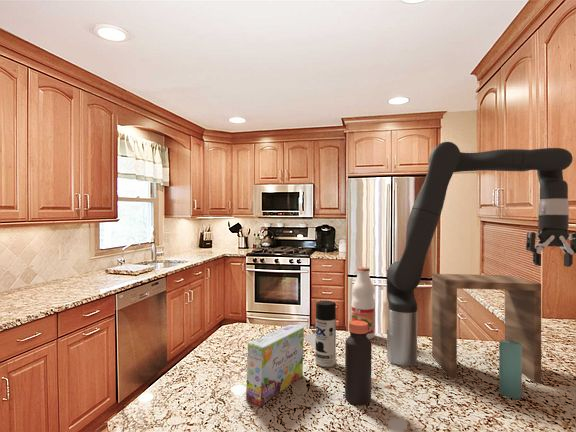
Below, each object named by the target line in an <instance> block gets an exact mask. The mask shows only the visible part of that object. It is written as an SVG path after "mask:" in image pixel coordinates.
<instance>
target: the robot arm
mask: <svg viewBox="0 0 576 432" xmlns="http://www.w3.org/2000/svg"><path fill="white" fill-rule="evenodd" d="M573 158H574V157H573V155H572V153H571V152H570V151H569V150H567V149H565V148H561V147H545V148H535V149H523V148H522V149H520V148H512V149H511V148H510V149H509V148H507V149H506V148H505V149H493V150H487V151H479V152H461V151H460V148H459V147H458V145H457V144H456V143H454V142H452V141H443V142H441V143H439V144H437V145H436V146H435V147H434V148H433V149H432V150H431V152H430V155H429V160H428V168H427V173H426V176H425V179H424V182H423V184H422V185H421V187H420V189H419V192H418V193H417V196H416V197H415V200H414V202H413V204H412V208H411V211H410V213H409V216H408V220H407V224H406V232H405V233H406V235H405V246H404V249H403V252H402V255H401V257H400V259H399V261H394V262H392V263H391V264H390V265H389V266H388V269H387V272H386V298H387V299H386V300H387V303H388V328H387V329H386V358H387V359H388V361H389V363H390V364H393V365H398V366H406V367H410V366H411V367H412V366H415V365H417V364H418V302H417V300H416V298H415V290H416V288H417V287H418V286H419V284H420V282H421V279H422V276H423V270H424V265H425V261H426V257H427V255H428V251H429V249H430V246H431V243H432V240H433V238H434V234H435V232H436V229H437V226H438V224H439V221H440V218H441V215H442V212H443V208H444V204H445V200H446V196H447V190H448V186H449V185H450V181H451V179H452V178H453V175H454V173H459V172H460V173H461V172H473V171H476V172H477V171H481V172H482V171H488V172H489V171H491V172H493V171H495V172H528V171H537V179H538V183H539V202H538V206H537V207H538V208H537V209H538V213H537V215H538V216H537V228H538V232H534V231H528V232H526V233H527V234H526V244H525V245H526V246H525V250H526V251H528V252H531V253H532V264H533V265H534V266H537V267H541V266H542V254H541V252H542V251H544V249H546V248H547V247H555V248H556V247H558V248H559V249H561V251H563V253H564V254H563V266H564V267H570V268H571V266H572V265H573V264H574V263H573V260H574V257H573V256H574V255H575V254H576V232H570V233H569V232H568V231H569V221H570V215H569V214H570V213H569V212H570V206H569V185H568V182H567V181H566V180H564V173H563V172H564V170H566V169H568V168H569V167H570V166H571V165H572V163H573ZM537 238H538V239H539V240H538V241H537V242H536V240H537ZM567 240H569V243H568V241H567Z"/></svg>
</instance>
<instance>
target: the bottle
mask: <svg viewBox="0 0 576 432" xmlns="http://www.w3.org/2000/svg"><path fill="white" fill-rule="evenodd" d="M348 332H349V334H350V335H349V336H348V337H347V338H346V340H345V343H344V345H345V350H344V351H345V353H344V354H345V357H344V358H345V359H344V360H345V361H344V362H345V364H344V369H345V370H344V397H345V400H346V401H347V402H349V403H350V404H353V405H356V406H357V405H358V406H365V405H368V404H369V403H371V400H372V350H373V349H372V347H373V345H372V341H371V339H368V338H367V334H368V323H367V322H364V321H359V320H354V321H349V322H348Z"/></svg>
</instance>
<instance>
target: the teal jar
mask: <svg viewBox="0 0 576 432" xmlns="http://www.w3.org/2000/svg"><path fill="white" fill-rule="evenodd" d="M498 345H499V346H498V349H499V350H498V351H499V352H498V355H499V357H498V358H499V361H498V365H499V367H498V368H499V369H498V373H499V374H498V375H499V376H498V377H499V378H498V379H499V380H498V381H499V384H498V386H499V388H498V389H499V392H500V393H499V394H500V395H501V394H502V396H503V397H505V396H506V397H505V398H508V397H509V398H508V399H511V398H513V399H512V400H521V399H522V398H523V395H522V394H523V374H522V344H521V343H519V342H516V341H512V340H505V339H499V342H498Z"/></svg>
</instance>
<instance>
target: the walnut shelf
mask: <svg viewBox="0 0 576 432" xmlns="http://www.w3.org/2000/svg"><path fill="white" fill-rule="evenodd" d="M431 275H432V277H431V278H432V279H431V280H432V281H431V282H432V283H431V284H432V288H431V289H432V295H431V299H432V303H431V304H432V306H431V308H432V309H431V311H432V312H431V313H432V314H431V316H432V317H431V318H432V320H431V321H432V323H431V326H432V328H431V329H432V330H431V331H432V332H431V333H432V334H431V343H432V344H431V347H432V349H431V358H432V357H433V358H434V359H435V360H434V359H433V358H432V359H433V360H434V362H435V361H436V362H437V363H438V364H439V365H440V366H441V367H440V366H439V365H438V364H437V363H436V362H435V363H436V364H437V365H438V366H439V367H440V369H441V368H442V369H443V370H444V371H445V372H446V373H445V372H444V371H443V370H442V369H441V370H442V371H443V372H444V373H445V375H446V374H447V375H448V376H449V377H450V378H449V377H448V376H447V375H446V376H447V377H448V378H449V379H451V378H457V377H458V376H457V375H458V367H457V366H458V365H457V364H458V360H457V359H458V356H457V355H458V351H457V350H458V347H457V346H458V289H463V290H464V289H465V290H466V289H467V290H501V291H502V290H503V291H504V340H512V341H516V342H519V343H521V344H522V375H524V376H525V377H526V378H528V379H529V380H530V381H532V383H539V384H541V383H542V283H538V282H535V281H532V280H530V279H529V280H528V279H525V278H521V277H518V276H513V275H504V274H503V275H502V274H463V273H462V274H459V273H457V274H456V273H432V274H431ZM457 379H458V378H457Z"/></svg>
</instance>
